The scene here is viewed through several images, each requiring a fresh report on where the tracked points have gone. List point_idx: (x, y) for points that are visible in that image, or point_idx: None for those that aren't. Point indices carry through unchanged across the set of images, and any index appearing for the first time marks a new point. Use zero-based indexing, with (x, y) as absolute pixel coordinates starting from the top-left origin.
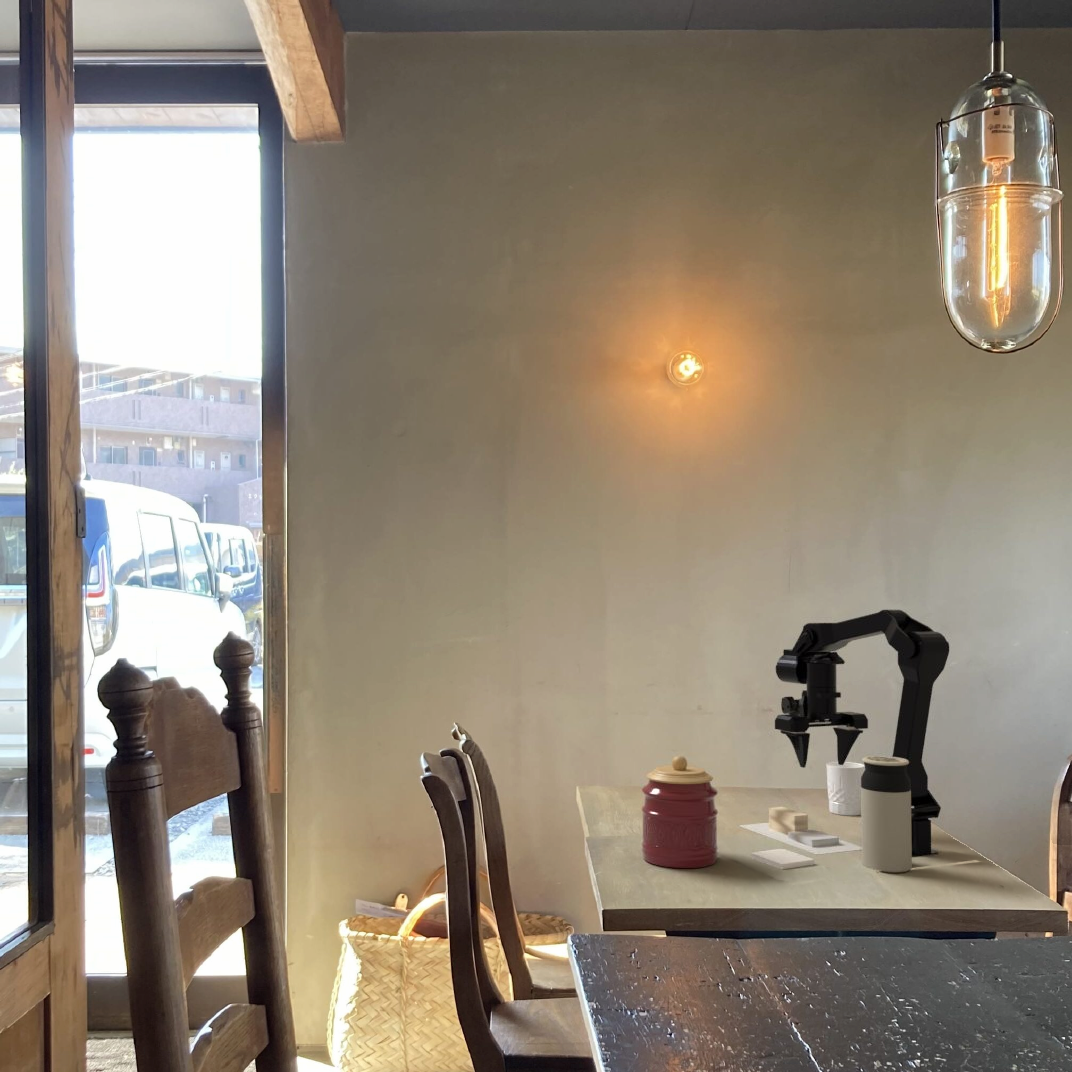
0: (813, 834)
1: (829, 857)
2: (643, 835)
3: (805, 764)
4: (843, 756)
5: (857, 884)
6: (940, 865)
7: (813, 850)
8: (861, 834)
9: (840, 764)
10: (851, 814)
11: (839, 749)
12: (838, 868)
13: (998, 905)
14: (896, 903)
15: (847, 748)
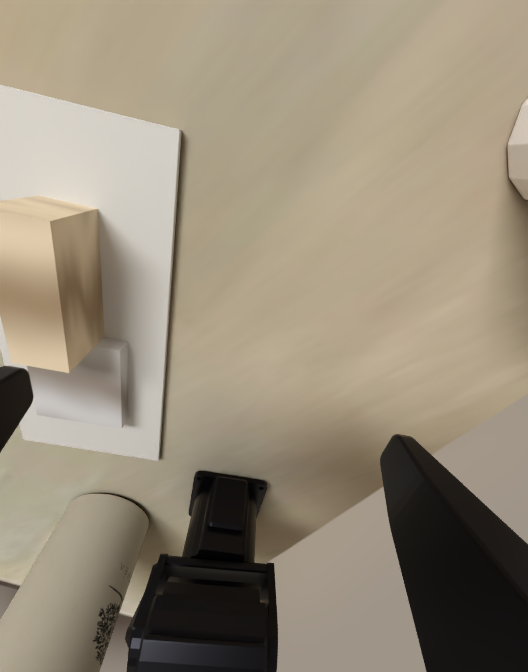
0: (77, 384)
1: (51, 447)
2: None
3: (10, 427)
4: (396, 537)
5: (4, 531)
6: None
7: (33, 420)
8: (42, 554)
9: (386, 449)
10: (522, 195)
11: (463, 569)
12: (24, 486)
13: (121, 608)
14: (9, 574)
15: (426, 654)
